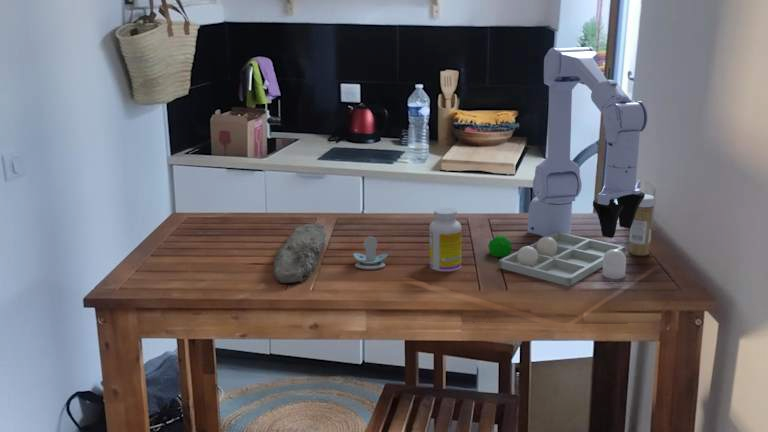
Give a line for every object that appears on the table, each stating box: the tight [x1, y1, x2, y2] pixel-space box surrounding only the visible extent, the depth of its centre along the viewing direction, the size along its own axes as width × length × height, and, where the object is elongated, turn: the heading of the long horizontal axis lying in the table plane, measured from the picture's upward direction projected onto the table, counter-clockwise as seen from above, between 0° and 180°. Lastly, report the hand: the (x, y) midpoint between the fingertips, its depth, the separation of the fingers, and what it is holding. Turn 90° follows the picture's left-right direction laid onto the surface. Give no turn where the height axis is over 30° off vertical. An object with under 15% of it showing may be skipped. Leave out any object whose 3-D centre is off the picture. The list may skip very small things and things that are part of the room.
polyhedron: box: [488, 235, 513, 258], centre depth 171 cm, size 5×5×5 cm
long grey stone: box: [273, 222, 326, 284], centre depth 174 cm, size 35×5×10 cm
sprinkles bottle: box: [628, 193, 655, 256], centre depth 169 cm, size 5×5×13 cm
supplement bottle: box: [429, 207, 462, 272], centre depth 163 cm, size 7×7×13 cm
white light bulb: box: [601, 249, 627, 280], centre depth 158 cm, size 4×4×6 cm
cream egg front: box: [517, 245, 538, 267], centre depth 163 cm, size 4×4×4 cm
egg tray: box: [498, 232, 626, 288], centre depth 167 cm, size 16×24×2 cm
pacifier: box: [353, 235, 389, 270], centre depth 167 cm, size 7×6×6 cm
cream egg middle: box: [537, 236, 557, 257], centre depth 169 cm, size 4×4×4 cm
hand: (616, 231), depth 156 cm, fingers open, 7 cm apart
